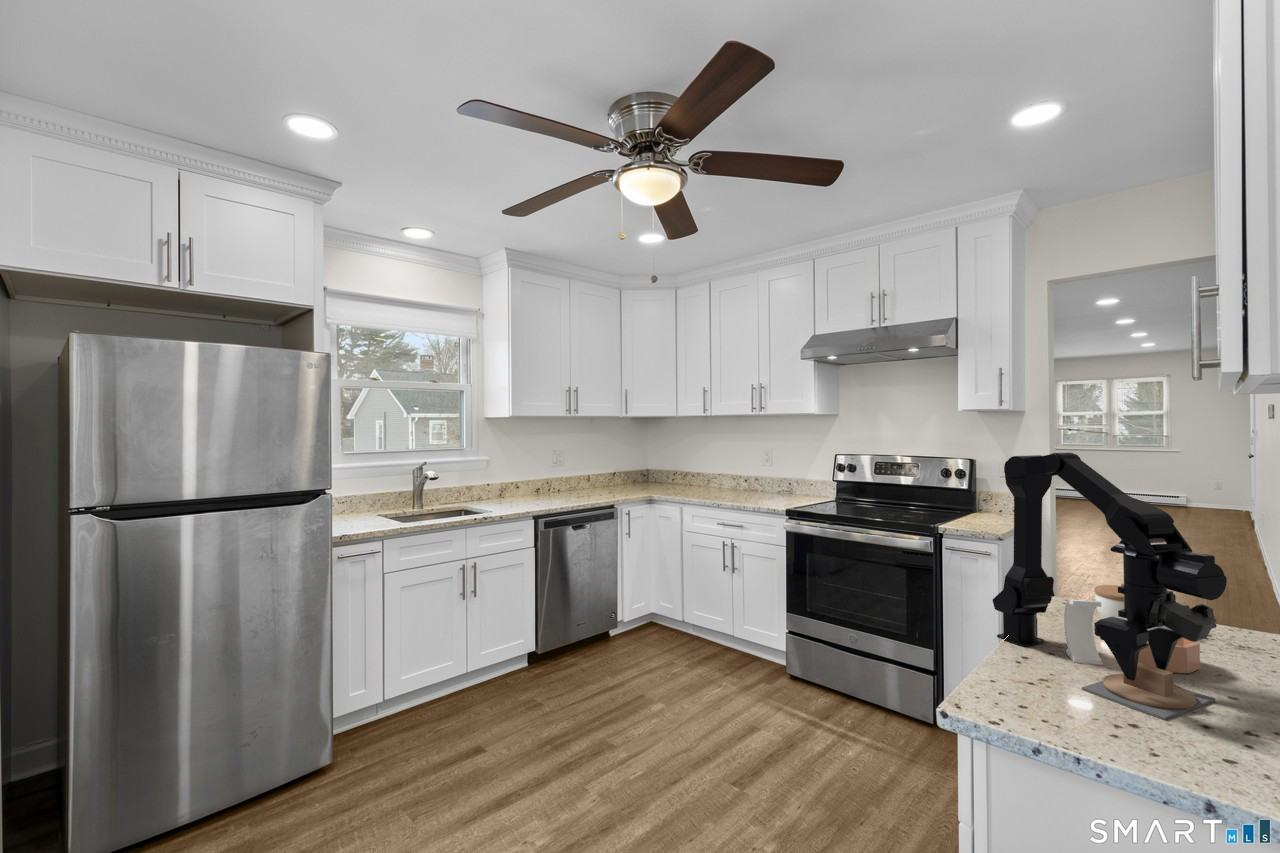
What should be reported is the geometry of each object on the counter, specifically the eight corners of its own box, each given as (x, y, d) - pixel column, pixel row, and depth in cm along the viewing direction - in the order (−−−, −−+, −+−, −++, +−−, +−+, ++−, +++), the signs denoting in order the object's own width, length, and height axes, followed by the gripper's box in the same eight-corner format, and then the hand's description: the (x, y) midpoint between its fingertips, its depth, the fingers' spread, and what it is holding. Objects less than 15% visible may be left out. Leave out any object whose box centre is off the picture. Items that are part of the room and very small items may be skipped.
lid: (1087, 686, 105) (1087, 661, 105) (1128, 673, 110) (1127, 649, 109) (1171, 716, 94) (1170, 688, 94) (1211, 700, 98) (1211, 674, 98)
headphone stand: (1073, 662, 116) (1072, 600, 116) (1064, 651, 122) (1063, 592, 122) (1102, 665, 114) (1101, 602, 114) (1092, 653, 120) (1090, 594, 120)
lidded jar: (1084, 621, 139) (1084, 581, 139) (1111, 614, 143) (1110, 575, 143) (1139, 636, 129) (1138, 592, 129) (1165, 628, 134) (1164, 586, 134)
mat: (1164, 720, 93) (1164, 717, 93) (1081, 689, 104) (1081, 687, 104) (1215, 700, 99) (1215, 698, 99) (1132, 673, 110) (1132, 671, 110)
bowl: (1177, 678, 108) (1176, 650, 108) (1109, 657, 118) (1108, 631, 118) (1209, 667, 112) (1209, 640, 112) (1141, 647, 123) (1140, 623, 123)
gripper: (1172, 603, 91) (1173, 706, 91) (1235, 587, 98) (1236, 682, 98) (1091, 585, 101) (1093, 677, 101) (1154, 572, 108) (1156, 658, 108)
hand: (1146, 674), depth 102 cm, fingers open, 9 cm apart
